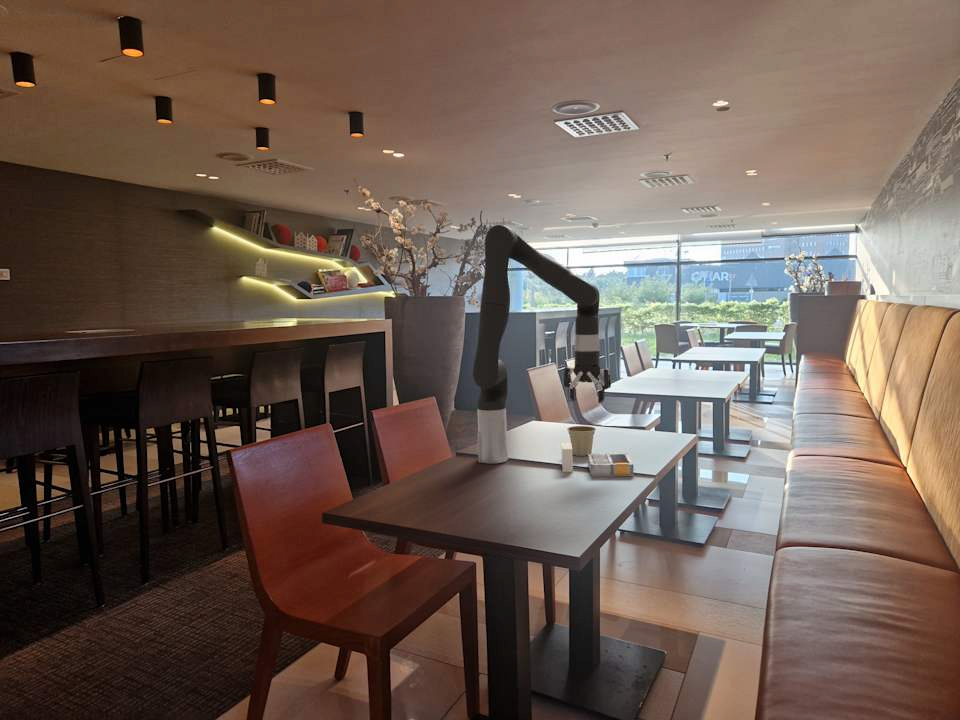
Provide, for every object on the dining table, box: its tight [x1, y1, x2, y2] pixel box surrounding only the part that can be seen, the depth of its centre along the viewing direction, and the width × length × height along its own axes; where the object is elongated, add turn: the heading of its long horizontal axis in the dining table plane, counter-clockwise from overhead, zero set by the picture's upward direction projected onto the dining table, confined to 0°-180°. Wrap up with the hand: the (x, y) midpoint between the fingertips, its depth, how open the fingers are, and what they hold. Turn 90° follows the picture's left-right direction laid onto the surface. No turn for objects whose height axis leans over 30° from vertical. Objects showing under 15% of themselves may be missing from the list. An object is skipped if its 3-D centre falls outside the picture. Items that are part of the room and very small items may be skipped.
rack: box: [587, 452, 634, 478], centre depth 186 cm, size 12×13×4 cm
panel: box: [561, 442, 574, 473], centre depth 190 cm, size 3×8×7 cm, turn 174°
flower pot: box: [567, 425, 597, 457], centre depth 207 cm, size 9×9×9 cm
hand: (587, 401), depth 193 cm, fingers open, 8 cm apart
